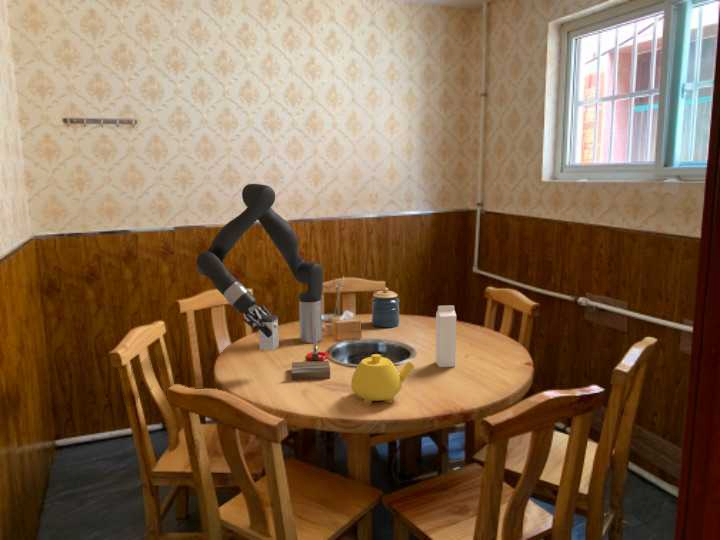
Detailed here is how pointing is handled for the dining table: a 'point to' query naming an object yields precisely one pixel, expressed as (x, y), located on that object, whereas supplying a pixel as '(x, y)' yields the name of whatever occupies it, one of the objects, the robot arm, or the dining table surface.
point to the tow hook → (316, 351)
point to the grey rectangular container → (272, 325)
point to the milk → (446, 336)
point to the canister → (385, 309)
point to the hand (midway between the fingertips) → (273, 333)
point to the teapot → (378, 379)
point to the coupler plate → (310, 370)
